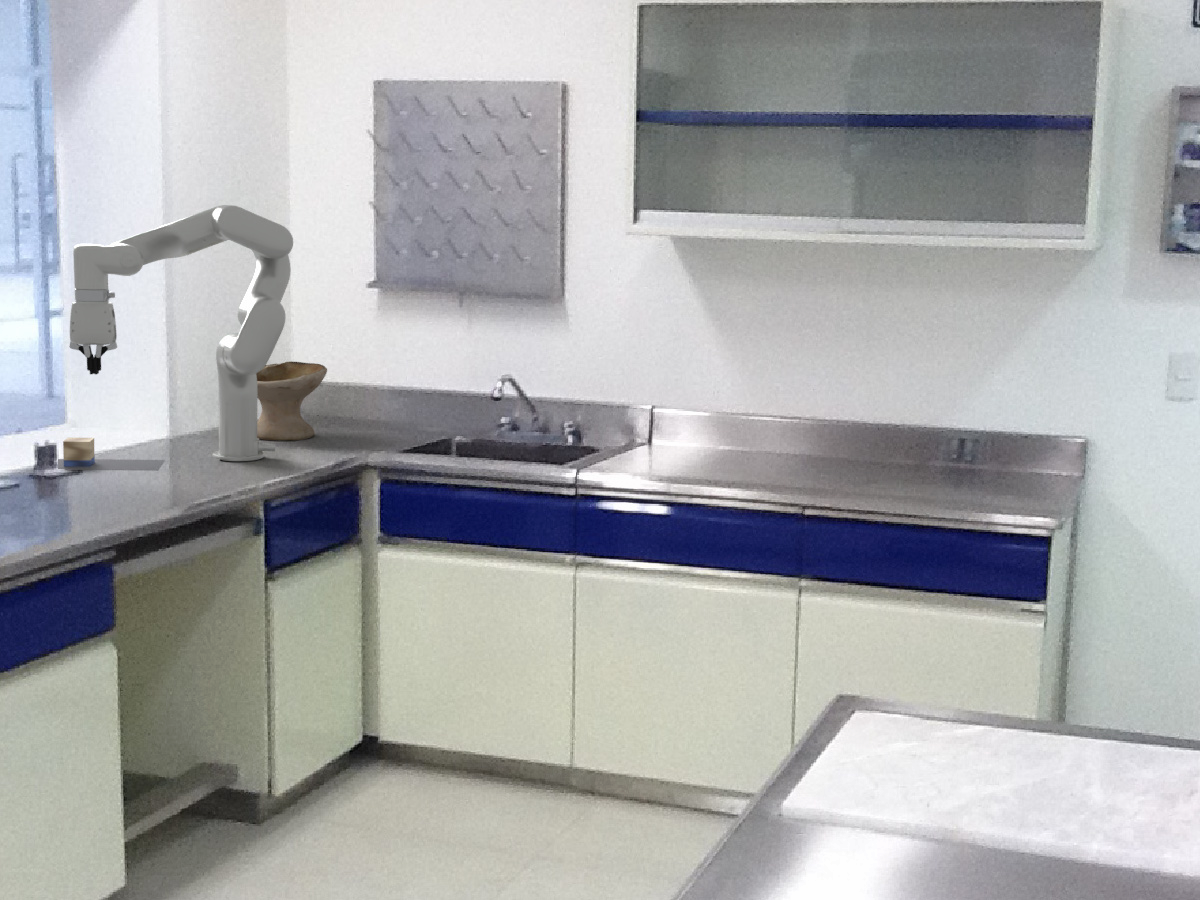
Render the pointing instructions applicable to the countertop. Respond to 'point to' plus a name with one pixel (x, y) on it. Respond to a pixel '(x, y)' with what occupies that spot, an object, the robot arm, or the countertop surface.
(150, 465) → the mat
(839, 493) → the countertop surface
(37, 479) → the countertop surface
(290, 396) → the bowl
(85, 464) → the cube
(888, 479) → the countertop surface
